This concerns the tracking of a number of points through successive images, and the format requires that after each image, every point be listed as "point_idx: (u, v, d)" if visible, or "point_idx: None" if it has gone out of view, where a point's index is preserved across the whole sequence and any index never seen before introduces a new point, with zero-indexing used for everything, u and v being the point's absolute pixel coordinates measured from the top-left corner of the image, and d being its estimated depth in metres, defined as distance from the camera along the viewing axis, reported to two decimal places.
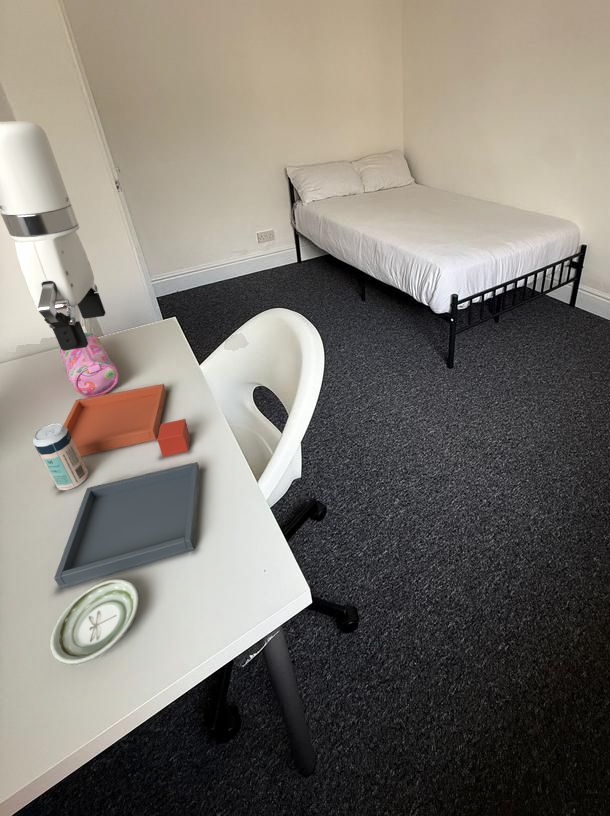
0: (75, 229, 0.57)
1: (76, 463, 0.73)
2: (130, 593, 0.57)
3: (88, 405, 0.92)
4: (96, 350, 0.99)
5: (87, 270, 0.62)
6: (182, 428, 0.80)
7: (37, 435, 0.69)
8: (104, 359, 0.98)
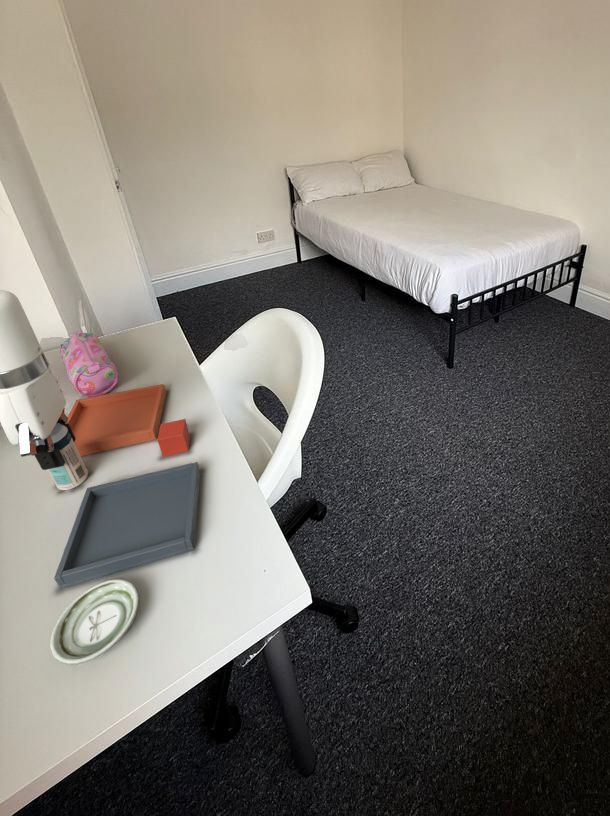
0: (45, 373, 0.65)
1: (76, 463, 0.73)
2: (130, 593, 0.57)
3: (88, 405, 0.92)
4: (96, 350, 0.99)
5: (58, 399, 0.70)
6: (182, 428, 0.80)
7: None
8: (104, 359, 0.98)
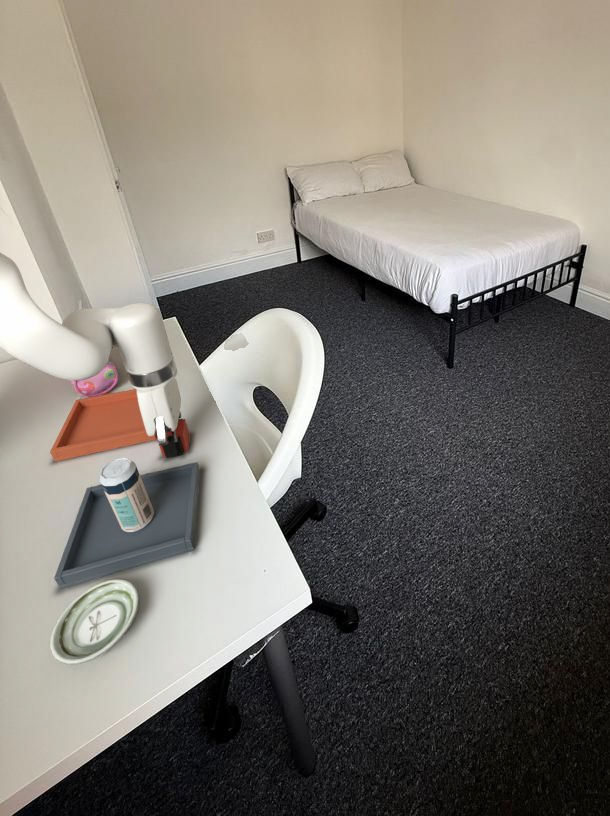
0: (176, 374, 0.75)
1: (144, 502, 0.65)
2: (130, 593, 0.57)
3: (88, 405, 0.92)
4: None
5: (178, 396, 0.80)
6: (182, 428, 0.80)
7: (104, 473, 0.61)
8: None
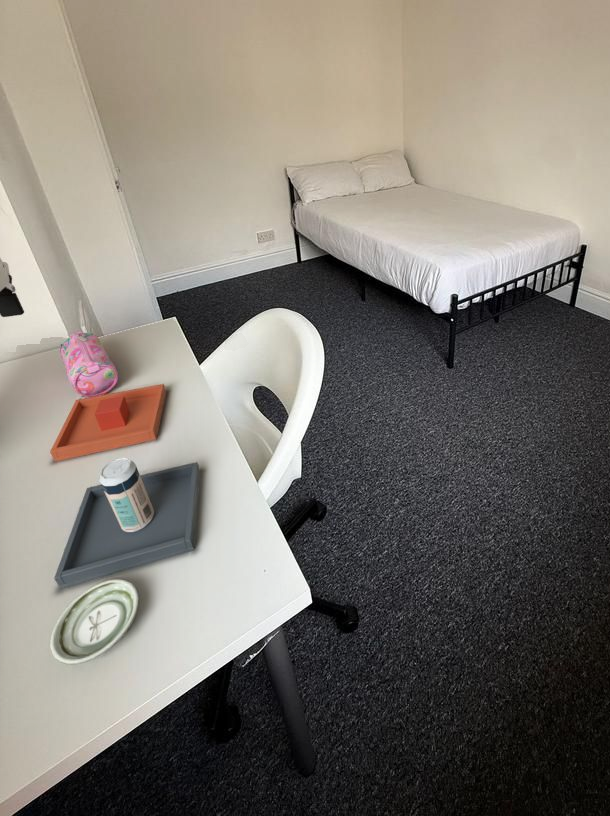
0: None
1: (144, 502, 0.65)
2: (130, 593, 0.57)
3: (88, 405, 0.92)
4: (95, 350, 0.99)
5: None
6: (119, 404, 0.86)
7: (104, 473, 0.61)
8: (104, 359, 0.97)
